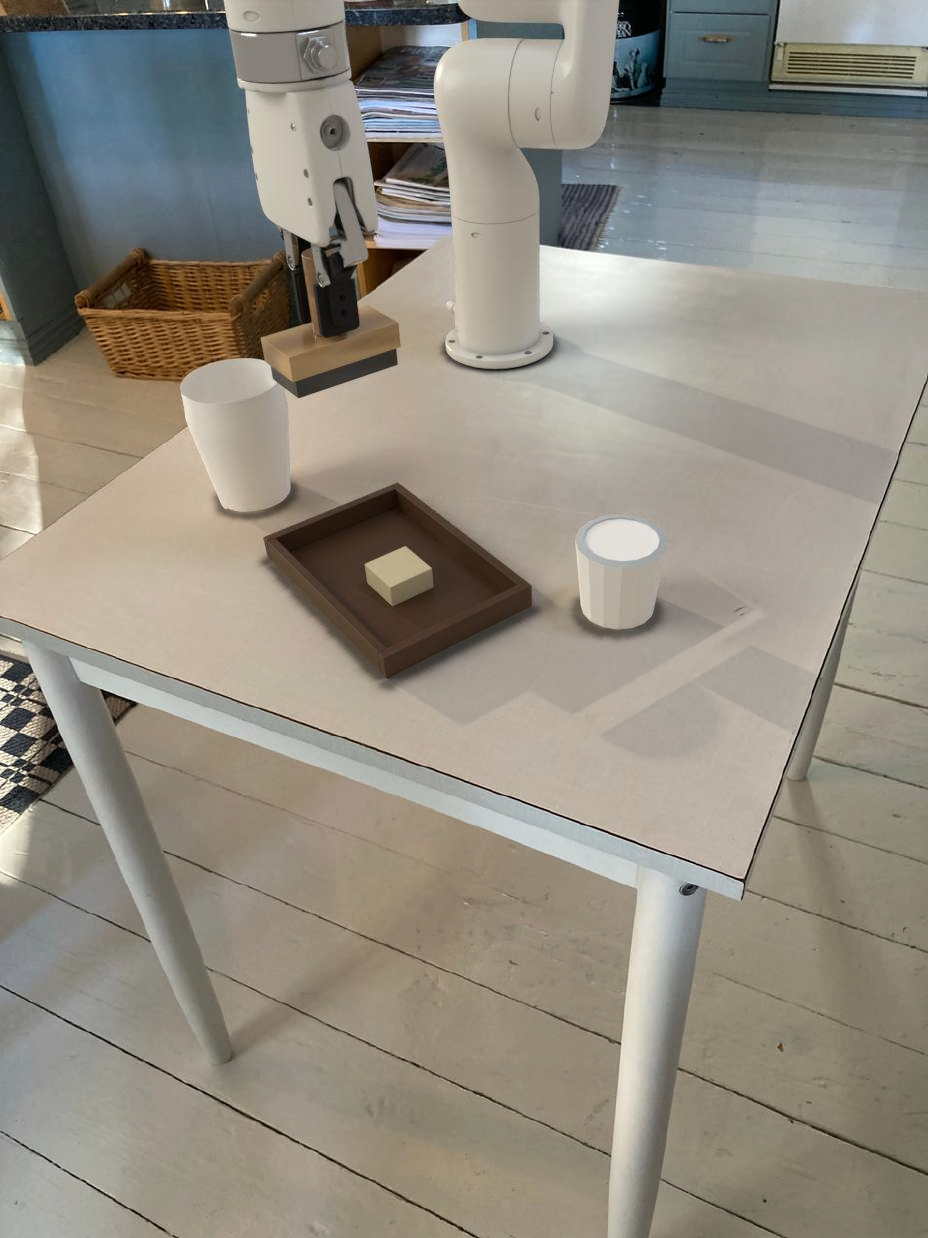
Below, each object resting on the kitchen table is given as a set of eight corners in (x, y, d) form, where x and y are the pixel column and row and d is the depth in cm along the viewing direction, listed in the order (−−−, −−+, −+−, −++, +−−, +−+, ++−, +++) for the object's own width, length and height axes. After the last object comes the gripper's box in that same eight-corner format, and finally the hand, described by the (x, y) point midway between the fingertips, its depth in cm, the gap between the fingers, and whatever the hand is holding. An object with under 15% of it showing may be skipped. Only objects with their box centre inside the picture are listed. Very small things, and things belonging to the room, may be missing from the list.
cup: (305, 516, 91) (283, 397, 84) (206, 529, 90) (174, 410, 83) (301, 466, 98) (281, 351, 90) (209, 478, 97) (180, 363, 90)
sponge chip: (366, 583, 82) (364, 563, 81) (407, 564, 84) (405, 545, 82) (392, 607, 79) (390, 587, 78) (434, 587, 81) (432, 567, 80)
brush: (268, 379, 79) (245, 259, 73) (372, 345, 83) (358, 228, 77) (296, 400, 76) (274, 276, 70) (402, 364, 80) (391, 244, 74)
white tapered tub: (676, 627, 76) (684, 554, 72) (593, 648, 75) (596, 574, 71) (639, 576, 82) (644, 505, 77) (560, 595, 80) (561, 523, 76)
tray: (268, 561, 86) (262, 537, 84) (400, 505, 92) (397, 481, 90) (387, 684, 73) (383, 658, 72) (532, 611, 79) (531, 585, 77)
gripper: (406, 62, 61) (427, 345, 73) (286, 33, 72) (322, 284, 84) (298, 83, 58) (338, 375, 70) (189, 49, 69) (240, 307, 80)
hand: (329, 323), depth 77 cm, fingers closed on brush, 2 cm apart
